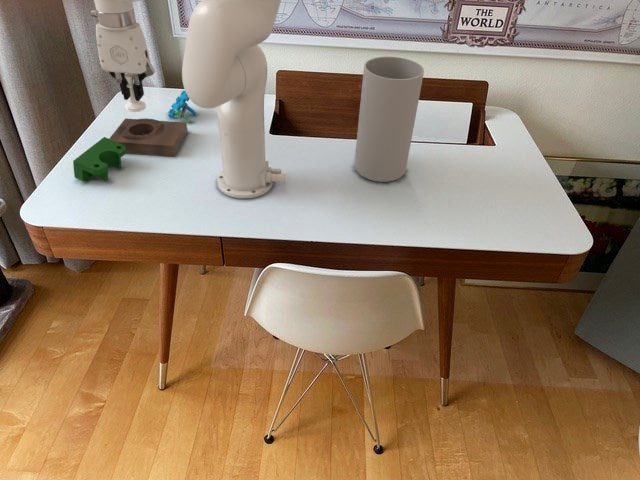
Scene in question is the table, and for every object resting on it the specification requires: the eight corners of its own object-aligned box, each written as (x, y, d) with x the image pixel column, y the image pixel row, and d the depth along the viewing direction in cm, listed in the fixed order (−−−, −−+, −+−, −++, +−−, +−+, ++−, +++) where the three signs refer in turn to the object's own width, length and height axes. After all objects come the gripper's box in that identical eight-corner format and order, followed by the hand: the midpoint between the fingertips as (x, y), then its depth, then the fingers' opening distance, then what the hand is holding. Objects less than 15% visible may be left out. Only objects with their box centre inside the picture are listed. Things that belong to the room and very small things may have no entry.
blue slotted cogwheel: (170, 100, 138) (191, 78, 133) (187, 113, 141) (209, 92, 136) (161, 123, 131) (184, 101, 125) (180, 136, 134) (202, 116, 129)
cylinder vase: (388, 189, 112) (405, 85, 95) (343, 170, 117) (352, 68, 101) (414, 167, 120) (434, 67, 103) (371, 150, 125) (384, 52, 109)
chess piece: (147, 110, 118) (139, 70, 111) (126, 113, 116) (116, 72, 110) (145, 101, 121) (137, 62, 114) (124, 104, 120) (115, 64, 113)
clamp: (105, 197, 112) (93, 178, 104) (81, 187, 112) (68, 167, 104) (132, 157, 117) (123, 135, 109) (109, 148, 117) (99, 125, 109)
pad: (188, 131, 128) (187, 121, 126) (174, 156, 119) (172, 145, 117) (128, 127, 129) (126, 116, 127) (109, 152, 119) (106, 141, 117)
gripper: (72, 20, 102) (94, 102, 114) (147, 26, 102) (162, 107, 114) (87, 9, 108) (107, 88, 120) (159, 15, 108) (171, 93, 120)
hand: (133, 97), depth 117 cm, fingers closed on chess piece
